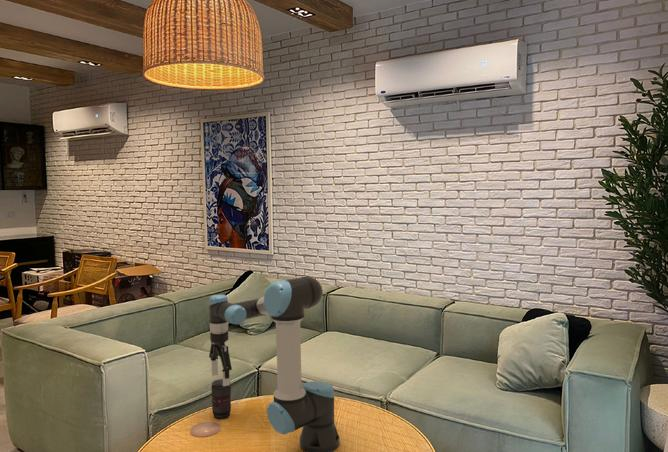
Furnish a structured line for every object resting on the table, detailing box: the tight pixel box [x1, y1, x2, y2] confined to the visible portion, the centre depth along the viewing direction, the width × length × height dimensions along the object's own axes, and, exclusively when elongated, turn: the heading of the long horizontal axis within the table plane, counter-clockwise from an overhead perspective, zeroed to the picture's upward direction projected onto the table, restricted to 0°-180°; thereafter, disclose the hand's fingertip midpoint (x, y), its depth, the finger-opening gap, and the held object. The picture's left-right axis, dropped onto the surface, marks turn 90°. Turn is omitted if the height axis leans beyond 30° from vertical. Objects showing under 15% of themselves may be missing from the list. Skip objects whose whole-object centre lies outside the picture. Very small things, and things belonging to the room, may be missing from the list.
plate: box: [189, 421, 222, 438], centre depth 202 cm, size 12×12×1 cm
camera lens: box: [210, 378, 232, 420], centre depth 214 cm, size 8×8×15 cm
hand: (220, 380), depth 213 cm, fingers open, 13 cm apart
